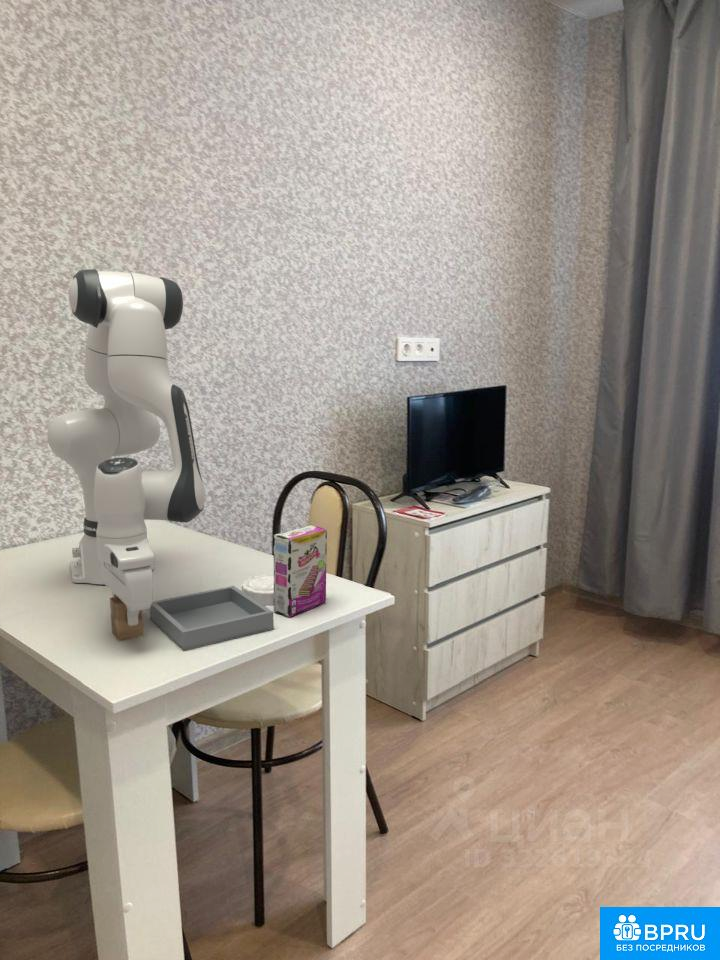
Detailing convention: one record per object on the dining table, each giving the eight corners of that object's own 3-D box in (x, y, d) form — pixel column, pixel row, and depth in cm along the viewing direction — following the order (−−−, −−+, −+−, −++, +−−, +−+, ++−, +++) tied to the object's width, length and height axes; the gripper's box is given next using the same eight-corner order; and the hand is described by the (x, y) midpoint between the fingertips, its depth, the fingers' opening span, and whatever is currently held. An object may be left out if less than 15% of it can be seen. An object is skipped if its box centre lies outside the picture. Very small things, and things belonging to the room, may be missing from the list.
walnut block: (112, 633, 140) (109, 597, 139) (135, 628, 143) (133, 593, 141) (119, 641, 136) (116, 605, 135) (143, 635, 139) (141, 600, 138)
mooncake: (262, 584, 168) (261, 569, 168) (308, 592, 163) (307, 577, 162) (230, 601, 158) (230, 585, 157) (278, 610, 153) (278, 594, 152)
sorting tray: (150, 619, 147) (149, 602, 146) (234, 601, 157) (233, 585, 156) (183, 650, 132) (182, 632, 132) (273, 629, 142) (273, 611, 141)
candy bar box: (290, 618, 148) (289, 539, 144) (273, 612, 151) (271, 534, 148) (328, 603, 156) (327, 527, 153) (310, 598, 159) (310, 523, 156)
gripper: (90, 537, 143) (94, 605, 146) (121, 564, 126) (126, 640, 129) (122, 532, 146) (126, 598, 149) (158, 558, 130) (161, 632, 133)
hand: (126, 618), depth 139 cm, fingers open, 5 cm apart
